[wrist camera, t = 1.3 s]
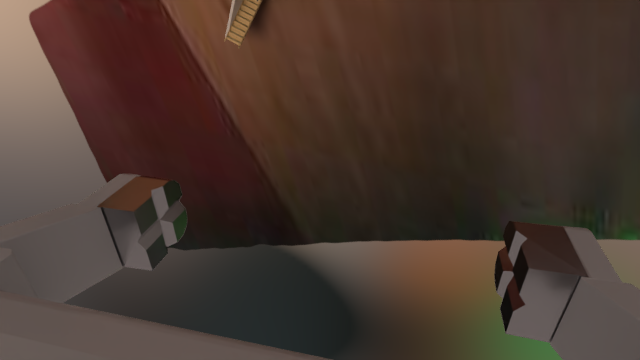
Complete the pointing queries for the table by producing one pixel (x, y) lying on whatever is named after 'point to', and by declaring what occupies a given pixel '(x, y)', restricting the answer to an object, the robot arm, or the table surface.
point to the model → (241, 19)
